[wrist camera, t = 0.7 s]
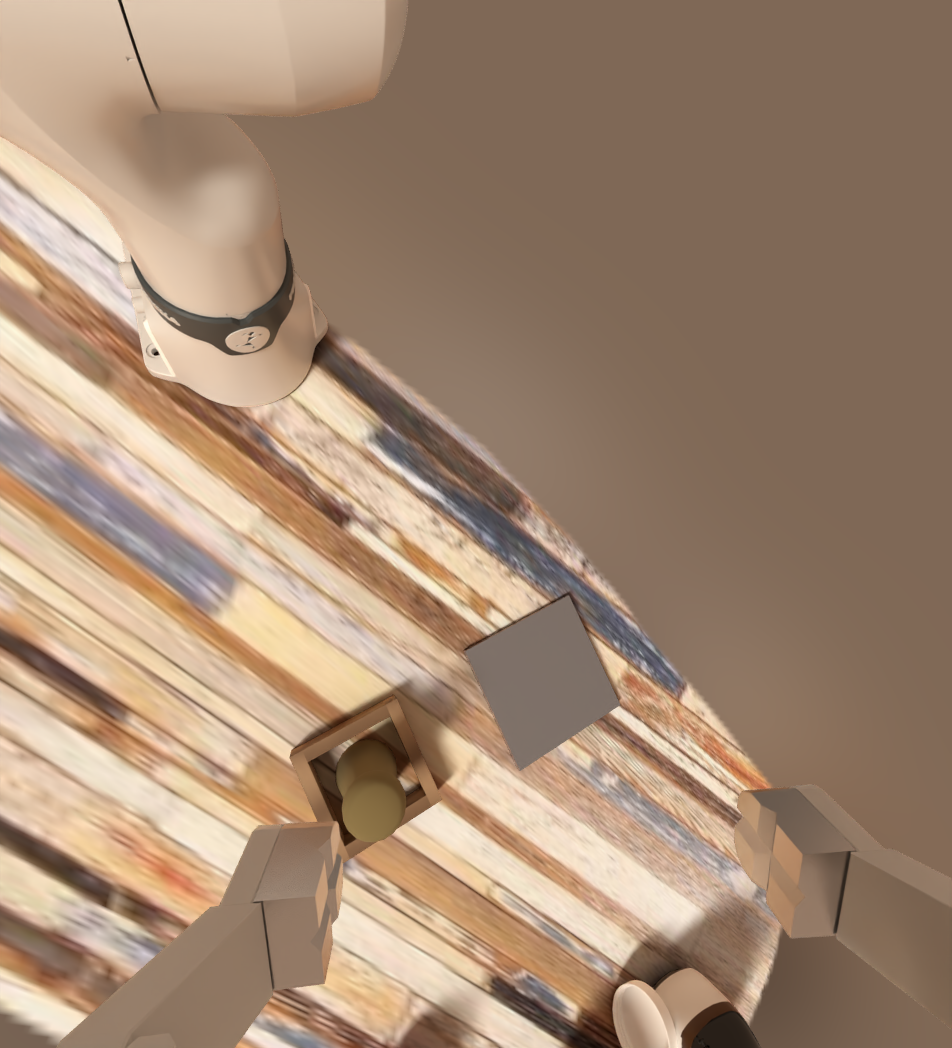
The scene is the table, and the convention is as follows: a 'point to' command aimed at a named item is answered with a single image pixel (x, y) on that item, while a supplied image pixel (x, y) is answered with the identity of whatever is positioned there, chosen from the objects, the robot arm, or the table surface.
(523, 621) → the coaster
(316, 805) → the square wooden frame
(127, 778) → the table surface
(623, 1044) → the spread jar
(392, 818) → the cork
